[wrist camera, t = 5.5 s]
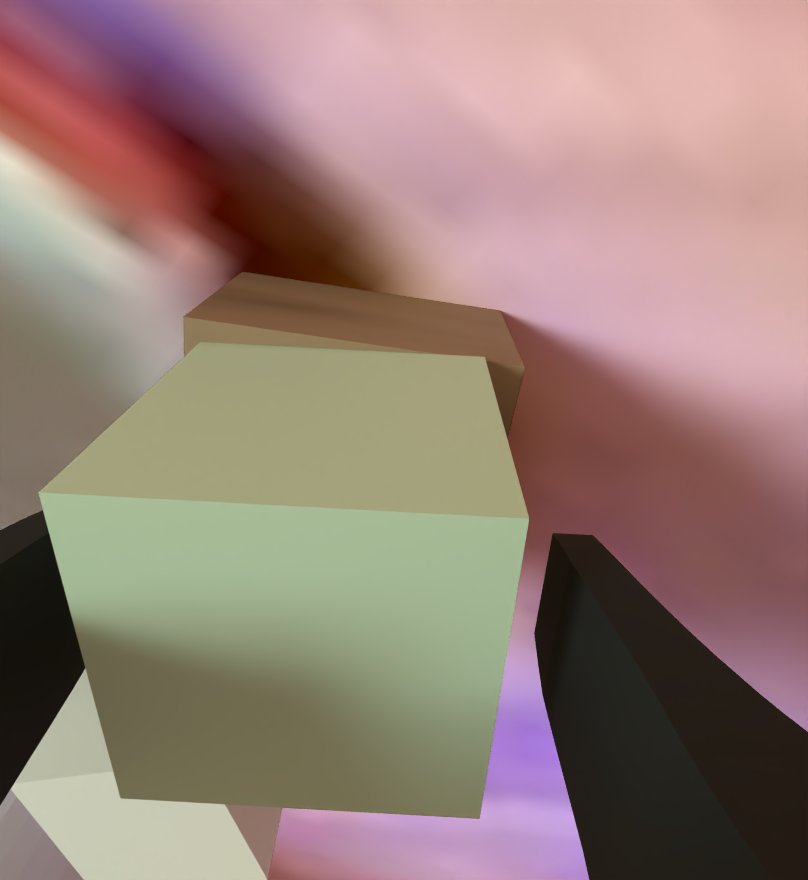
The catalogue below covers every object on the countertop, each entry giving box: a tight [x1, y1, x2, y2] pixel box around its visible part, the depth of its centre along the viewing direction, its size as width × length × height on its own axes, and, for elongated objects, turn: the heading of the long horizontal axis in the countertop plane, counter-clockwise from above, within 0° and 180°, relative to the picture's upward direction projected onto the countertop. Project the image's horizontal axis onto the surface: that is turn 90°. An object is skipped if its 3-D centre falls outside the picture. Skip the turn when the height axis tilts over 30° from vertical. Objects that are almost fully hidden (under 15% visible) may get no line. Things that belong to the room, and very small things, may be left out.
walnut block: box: [183, 272, 525, 438], centre depth 14 cm, size 6×6×4 cm
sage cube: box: [38, 342, 529, 819], centre depth 9 cm, size 5×5×5 cm
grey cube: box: [11, 668, 282, 880], centre depth 18 cm, size 5×5×5 cm
